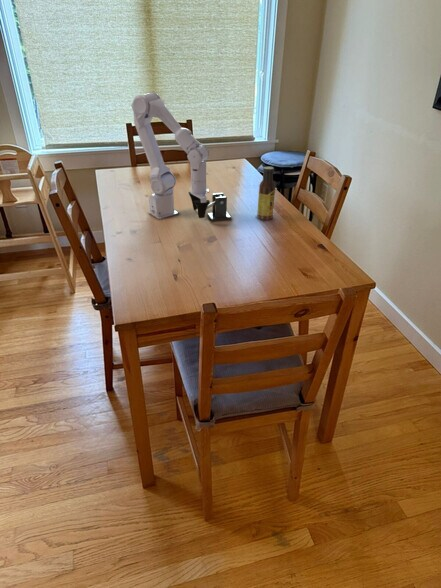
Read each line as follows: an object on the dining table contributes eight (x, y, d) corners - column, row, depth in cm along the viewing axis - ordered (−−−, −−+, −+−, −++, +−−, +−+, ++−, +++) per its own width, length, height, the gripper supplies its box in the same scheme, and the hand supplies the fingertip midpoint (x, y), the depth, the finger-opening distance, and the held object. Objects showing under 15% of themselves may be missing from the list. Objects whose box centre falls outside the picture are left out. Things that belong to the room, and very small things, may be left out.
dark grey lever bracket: (211, 221, 159) (211, 199, 154) (207, 215, 164) (207, 193, 158) (231, 219, 161) (231, 197, 156) (226, 213, 166) (226, 191, 160)
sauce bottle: (271, 221, 160) (276, 171, 149) (256, 220, 161) (259, 170, 150) (273, 215, 165) (277, 166, 154) (258, 213, 166) (261, 164, 155)
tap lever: (198, 218, 158) (195, 211, 156) (197, 215, 160) (193, 209, 159) (225, 202, 158) (222, 196, 156) (223, 199, 160) (219, 193, 158)
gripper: (214, 185, 146) (214, 220, 154) (203, 172, 158) (203, 205, 165) (195, 186, 145) (196, 222, 152) (186, 174, 156) (187, 207, 164)
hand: (199, 213), depth 159 cm, fingers open, 7 cm apart
